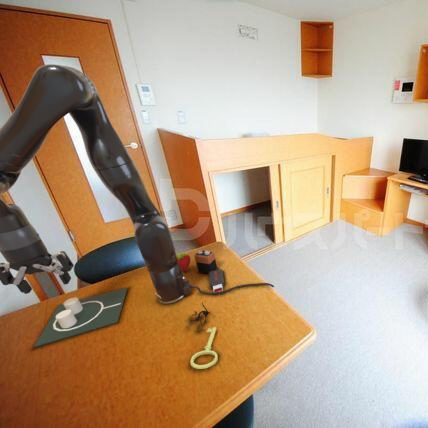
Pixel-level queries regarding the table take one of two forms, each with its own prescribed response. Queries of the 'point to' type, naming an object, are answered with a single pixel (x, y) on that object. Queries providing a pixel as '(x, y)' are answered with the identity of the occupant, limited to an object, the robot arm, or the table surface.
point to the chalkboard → (86, 317)
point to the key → (206, 352)
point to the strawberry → (183, 261)
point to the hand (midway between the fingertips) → (48, 287)
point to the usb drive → (216, 280)
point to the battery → (205, 261)
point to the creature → (199, 317)
